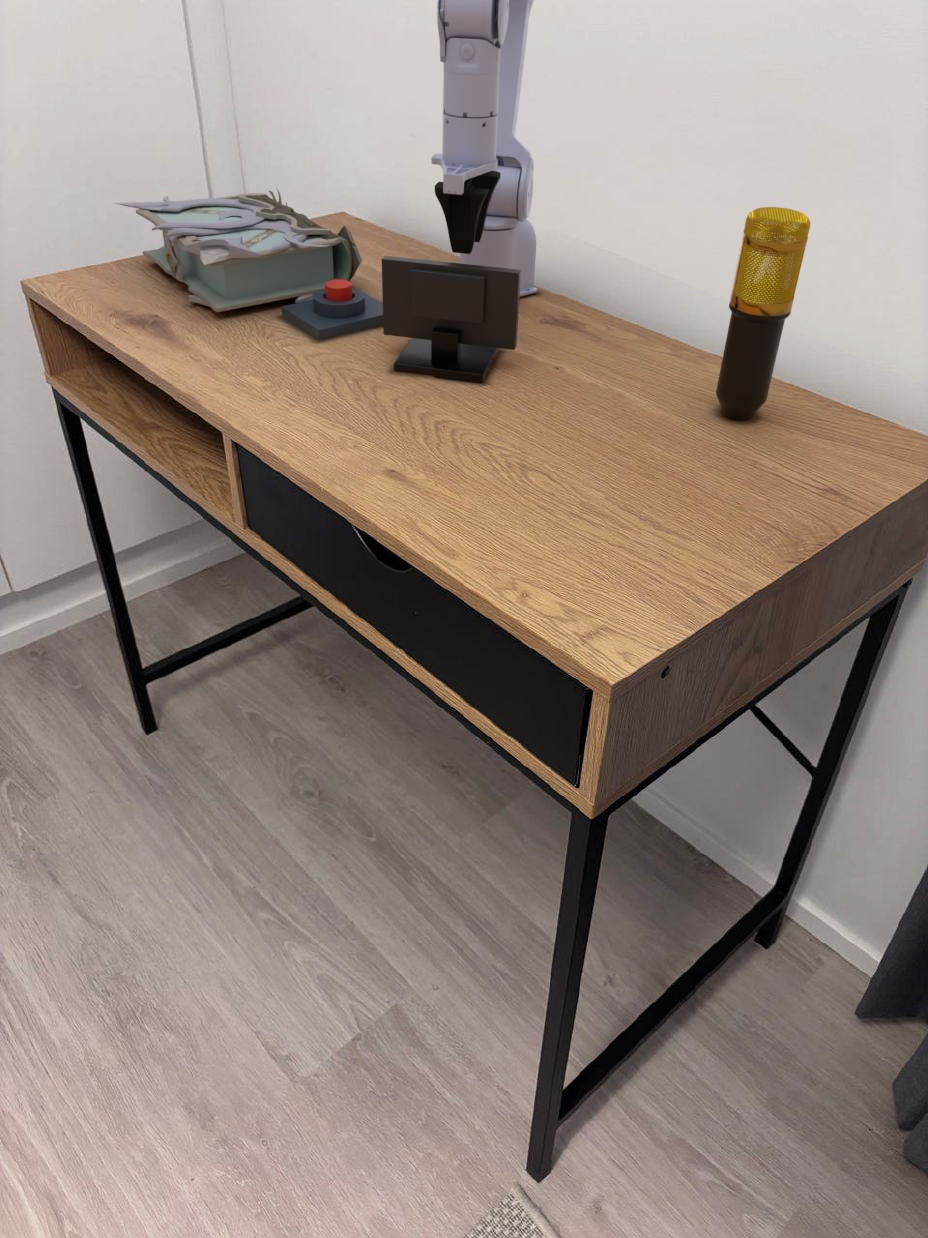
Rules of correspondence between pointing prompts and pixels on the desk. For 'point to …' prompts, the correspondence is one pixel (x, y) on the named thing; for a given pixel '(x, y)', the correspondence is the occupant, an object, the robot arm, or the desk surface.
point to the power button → (338, 290)
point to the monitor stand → (446, 357)
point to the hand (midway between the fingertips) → (466, 246)
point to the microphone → (760, 306)
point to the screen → (451, 300)
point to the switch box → (335, 314)
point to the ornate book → (247, 249)
